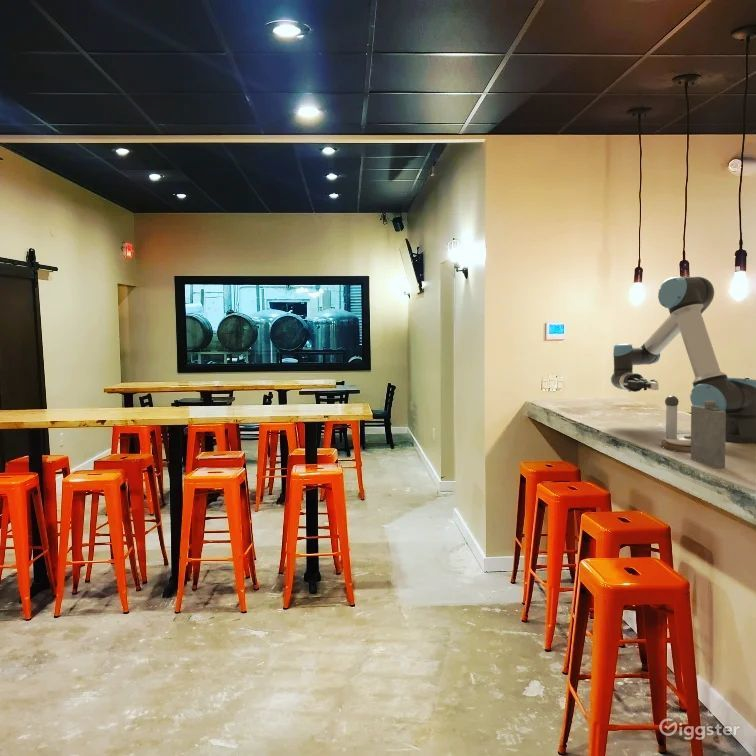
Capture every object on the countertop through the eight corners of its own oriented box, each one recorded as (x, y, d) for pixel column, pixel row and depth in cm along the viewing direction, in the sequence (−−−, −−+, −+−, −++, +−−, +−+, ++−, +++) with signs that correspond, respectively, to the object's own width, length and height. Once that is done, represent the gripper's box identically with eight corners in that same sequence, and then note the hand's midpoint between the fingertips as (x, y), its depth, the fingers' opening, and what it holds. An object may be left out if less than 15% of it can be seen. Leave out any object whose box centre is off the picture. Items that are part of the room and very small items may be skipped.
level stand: (701, 441, 233) (701, 427, 232) (727, 451, 215) (727, 436, 214) (652, 443, 233) (652, 429, 232) (674, 453, 215) (674, 438, 215)
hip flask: (688, 457, 208) (689, 398, 206) (700, 457, 208) (701, 397, 206) (717, 468, 192) (718, 404, 190) (729, 468, 192) (731, 403, 190)
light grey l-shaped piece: (701, 437, 231) (701, 392, 229) (720, 445, 215) (721, 397, 214) (657, 438, 232) (657, 393, 230) (673, 446, 217) (673, 398, 215)
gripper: (648, 390, 259) (674, 395, 236) (616, 391, 259) (639, 397, 236) (647, 372, 259) (673, 375, 235) (616, 373, 259) (638, 377, 235)
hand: (656, 386), depth 236 cm, fingers closed
